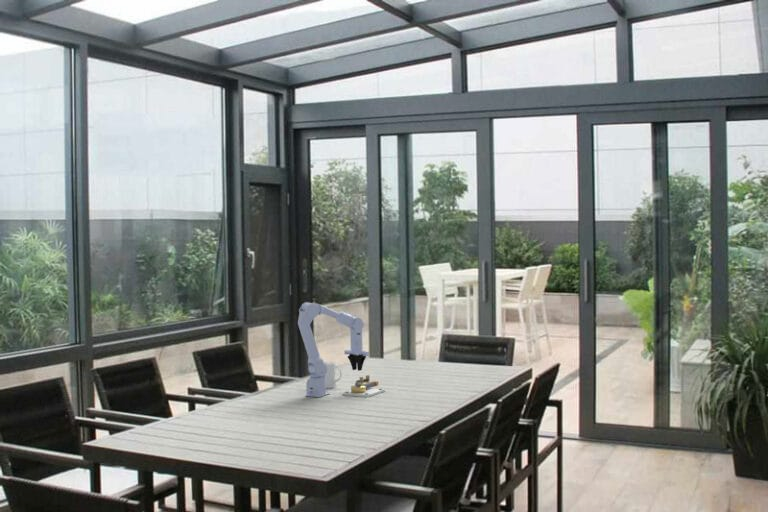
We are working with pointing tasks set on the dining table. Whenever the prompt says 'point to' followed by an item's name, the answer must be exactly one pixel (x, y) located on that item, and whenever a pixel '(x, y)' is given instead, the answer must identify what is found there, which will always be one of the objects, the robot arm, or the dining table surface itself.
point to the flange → (368, 393)
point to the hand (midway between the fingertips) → (357, 370)
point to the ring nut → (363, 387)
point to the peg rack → (364, 380)
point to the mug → (331, 374)
